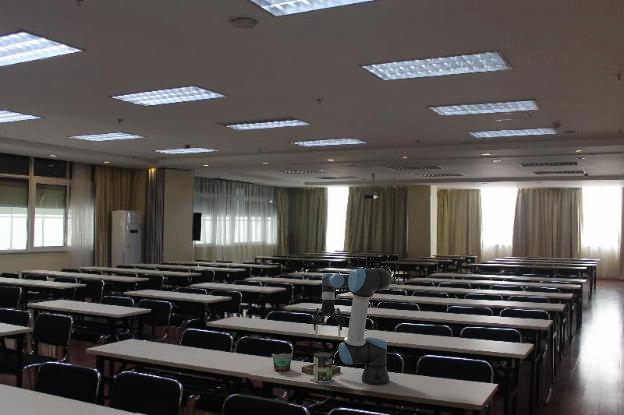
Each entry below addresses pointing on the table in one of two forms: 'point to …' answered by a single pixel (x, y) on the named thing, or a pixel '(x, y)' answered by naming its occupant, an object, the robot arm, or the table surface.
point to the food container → (282, 362)
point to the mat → (323, 383)
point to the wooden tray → (310, 369)
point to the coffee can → (322, 367)
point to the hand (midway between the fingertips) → (327, 336)
